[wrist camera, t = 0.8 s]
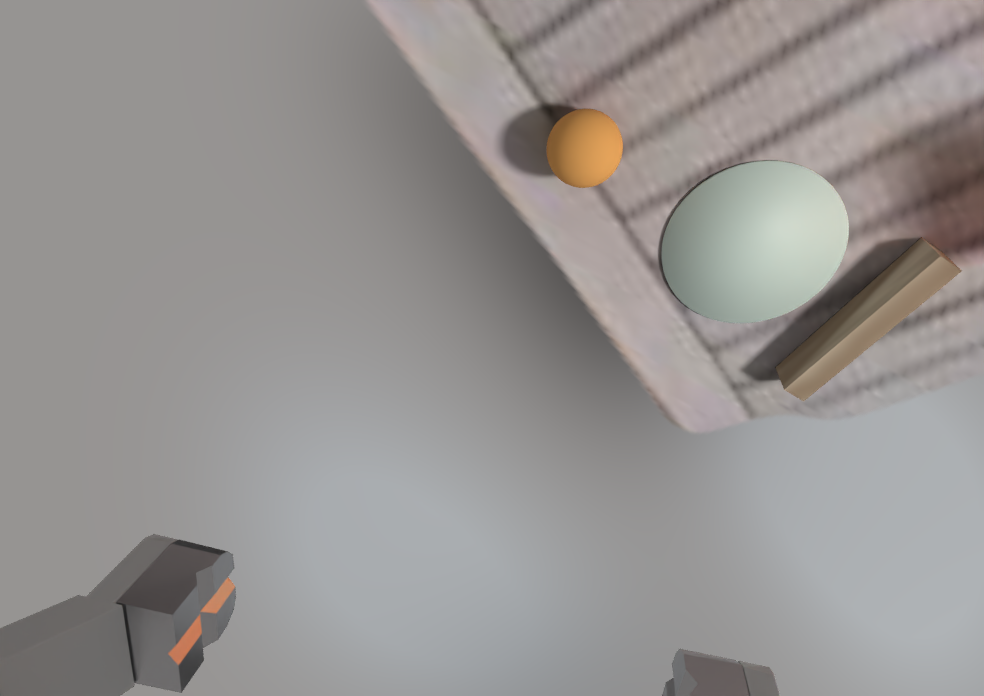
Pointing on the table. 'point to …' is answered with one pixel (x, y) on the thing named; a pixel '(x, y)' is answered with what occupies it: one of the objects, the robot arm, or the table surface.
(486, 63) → the table surface
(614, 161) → the ball
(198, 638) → the robot arm
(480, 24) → the table surface
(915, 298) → the bar
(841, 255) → the disc
